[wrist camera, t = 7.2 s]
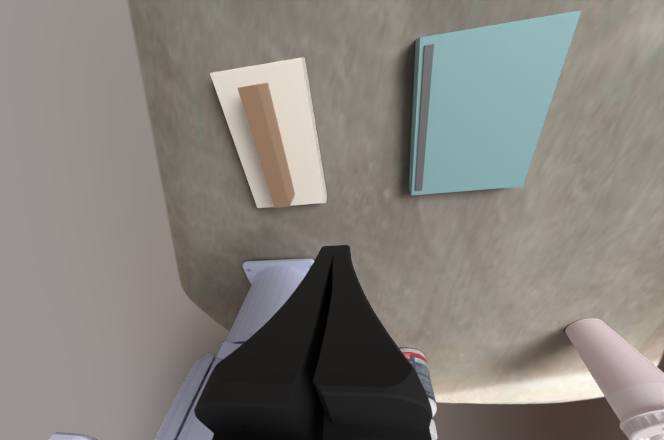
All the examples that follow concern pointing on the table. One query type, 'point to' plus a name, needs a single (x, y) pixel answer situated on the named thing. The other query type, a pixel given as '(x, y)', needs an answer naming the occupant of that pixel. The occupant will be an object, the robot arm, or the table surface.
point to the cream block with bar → (274, 131)
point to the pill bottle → (423, 380)
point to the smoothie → (622, 378)
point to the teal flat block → (483, 102)
